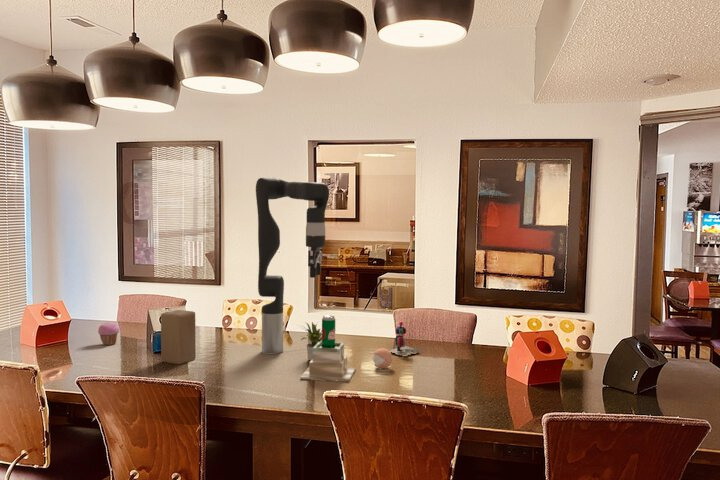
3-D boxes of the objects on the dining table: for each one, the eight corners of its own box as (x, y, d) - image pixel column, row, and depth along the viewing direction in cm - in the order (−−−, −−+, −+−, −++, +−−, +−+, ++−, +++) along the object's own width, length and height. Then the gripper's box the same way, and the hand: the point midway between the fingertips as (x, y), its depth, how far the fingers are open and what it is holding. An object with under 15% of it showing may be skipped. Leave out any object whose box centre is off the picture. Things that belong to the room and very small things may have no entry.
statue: (403, 360, 235) (401, 326, 233) (388, 355, 242) (385, 322, 240) (421, 353, 242) (419, 319, 240) (405, 348, 249) (403, 316, 247)
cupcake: (123, 343, 256) (123, 322, 255) (106, 347, 248) (105, 325, 248) (111, 341, 260) (111, 320, 260) (94, 344, 253) (93, 323, 253)
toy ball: (369, 366, 221) (369, 347, 220) (386, 364, 224) (386, 345, 223) (377, 372, 213) (378, 351, 213) (395, 370, 216) (396, 350, 216)
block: (196, 359, 230) (196, 311, 229) (179, 365, 221) (178, 315, 220) (178, 356, 234) (177, 309, 233) (160, 362, 225) (159, 313, 224)
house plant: (287, 359, 230) (288, 320, 230) (312, 353, 241) (313, 315, 240) (311, 366, 221) (311, 325, 220) (336, 359, 231) (336, 320, 230)
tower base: (309, 368, 218) (309, 339, 217) (355, 370, 215) (355, 341, 215) (300, 379, 203) (300, 349, 203) (349, 382, 201) (349, 351, 200)
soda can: (330, 350, 205) (330, 318, 205) (319, 348, 208) (319, 316, 208) (337, 347, 210) (338, 316, 209) (327, 346, 212) (327, 314, 212)
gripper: (310, 233, 223) (310, 274, 224) (301, 235, 209) (301, 278, 210) (328, 233, 222) (328, 274, 223) (321, 235, 208) (321, 278, 209)
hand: (315, 276), depth 216 cm, fingers open, 8 cm apart
